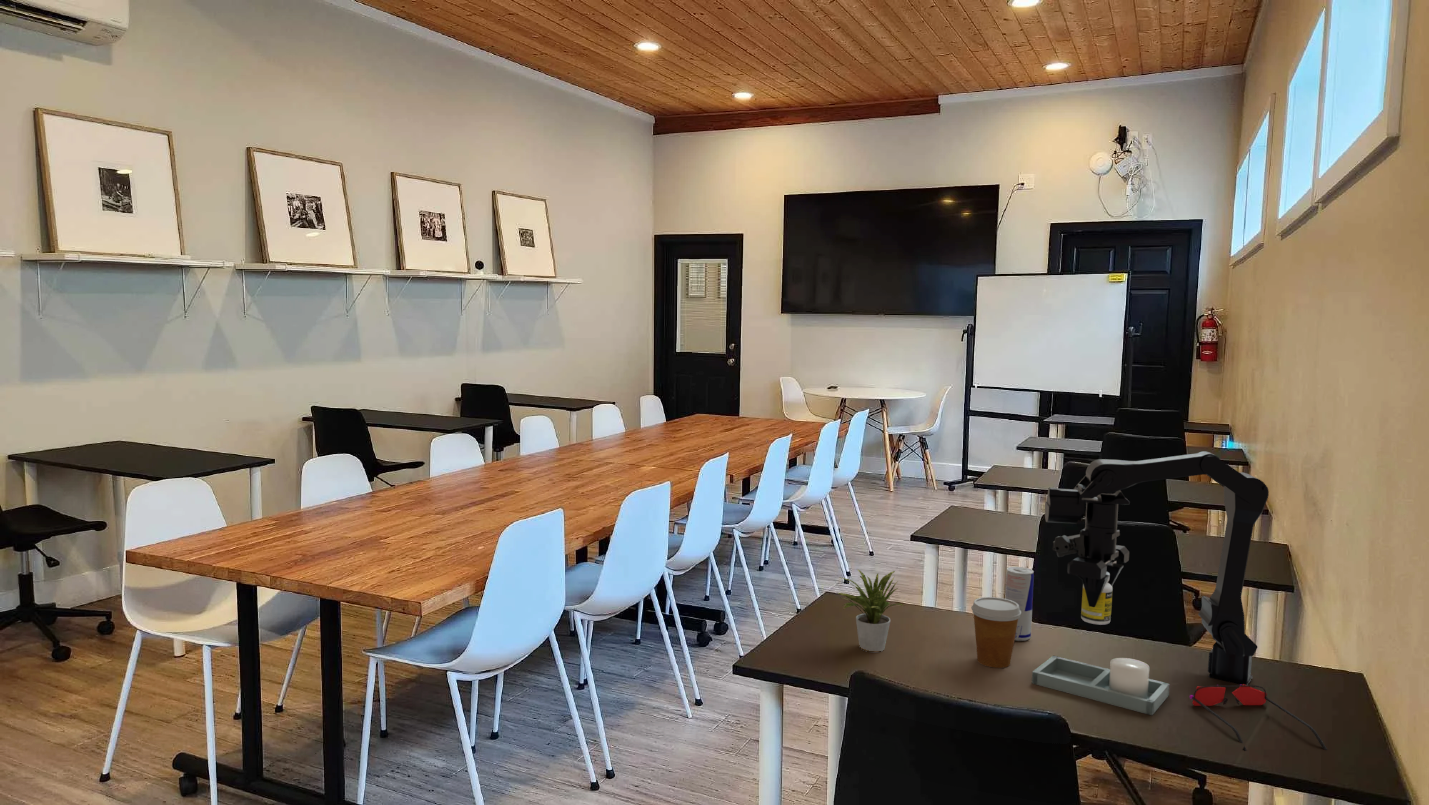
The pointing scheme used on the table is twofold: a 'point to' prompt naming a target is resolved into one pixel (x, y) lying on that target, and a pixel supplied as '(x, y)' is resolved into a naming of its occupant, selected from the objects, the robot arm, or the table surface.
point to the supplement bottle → (1098, 606)
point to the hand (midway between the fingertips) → (1096, 603)
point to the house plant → (872, 612)
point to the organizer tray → (1095, 684)
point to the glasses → (1244, 695)
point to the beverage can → (1021, 598)
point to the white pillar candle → (1129, 677)
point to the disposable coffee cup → (995, 630)
